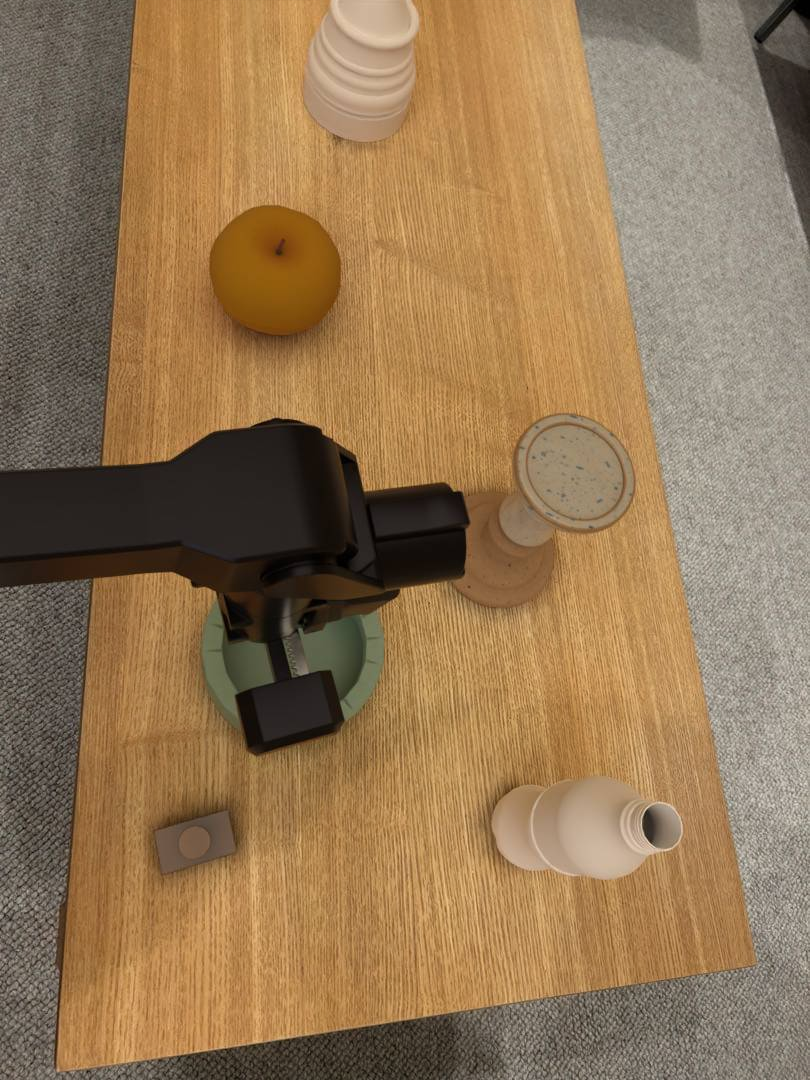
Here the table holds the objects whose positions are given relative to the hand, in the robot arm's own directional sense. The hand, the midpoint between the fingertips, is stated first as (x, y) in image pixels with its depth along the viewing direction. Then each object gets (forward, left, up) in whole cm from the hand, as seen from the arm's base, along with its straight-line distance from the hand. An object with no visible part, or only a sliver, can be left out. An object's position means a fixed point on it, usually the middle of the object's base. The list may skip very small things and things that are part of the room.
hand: (254, 632), depth 61 cm
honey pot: (+28, +65, -14) cm, 72 cm away
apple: (+11, +37, -14) cm, 41 cm away
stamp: (-7, -13, -14) cm, 21 cm away
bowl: (+4, 0, -14) cm, 14 cm away
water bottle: (+21, -20, -14) cm, 32 cm away
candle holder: (+27, +6, -14) cm, 31 cm away
